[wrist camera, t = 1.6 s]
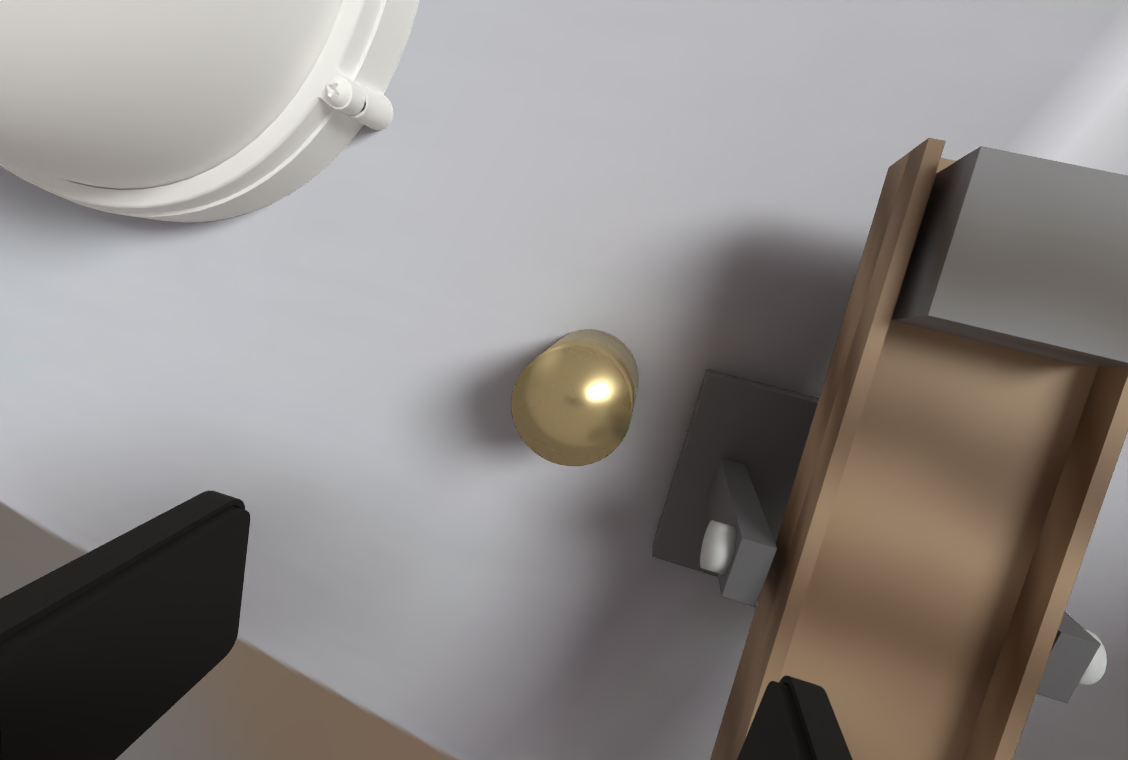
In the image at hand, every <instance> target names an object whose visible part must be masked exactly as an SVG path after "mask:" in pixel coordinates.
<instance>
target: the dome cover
mask: <svg viewBox="0 0 1128 760" xmlns="http://www.w3.org/2000/svg"><path fill="white" fill-rule="evenodd" d="M418 5H419V0H0V166H1V167H3V168H5V169H6V170H8V171H10V172H11V173H13V174H14V175H16V176H18V177H19V178H21V179H23V180H25V181H27V182H29V183H31V184H33V185H35V186H37V187H39V188H41V189H44V190H46V191H48V192H51V193H53V194H55V195H57V196H59V197H61V198H64V199H67V200H69V201H72V202H74V203H77V204H79V205H82V206H86V207H89V208H93V209H96V210H100V211H104V212H109V213H115V214H121V215H127V216H134V217H140V218H147V219H153V220H160V221H171V222H208V221H215V220H222V219H228V218H232V217H236V216H240V215H244V214H247V213H250V212H253V211H255V210H258V209H261V208H263V207H266V206H268V205H270V204H272V203H274V202H276V201H278V200H280V199H282V198H284V197H286V196H288V195H290V194H291V193H293V192H294V191H296V190H297V189H299V188H300V187H302V186H303V185H305V184H306V183H308V182H309V181H310V180H312V179H313V178H314V177H315V176H317V175H318V174H319V173H320V172H321V171H322V170H324V169H325V168H326V167H327V166H328V165H330V164H331V163H332V161H333V160H334V159H335V158H336V157H337V156H338V155H339V154H340V153H341V152H342V151H343V150H344V149H345V148H346V147H347V146H348V145H349V144H350V142H351V141H352V140H353V138H354V137H355V136H356V135H357V133H358V132H359V131H360V130H361V128H362V127H363V126H364V125H366V126H368V127H370V128H371V129H373V130H382V129H385V128H386V127H387V126H388V125H389V124H390V123H391V121H392V118H393V108H392V105H391V102H390V101H389V100H388V99H387V97H386V96H384V95H383V94H384V93H385V91H386V89H387V87H388V85H389V83H390V81H391V79H392V77H393V75H394V73H395V71H396V68H397V66H398V64H399V61H400V59H401V56H402V54H403V51H404V49H405V46H406V44H407V41H408V38H409V35H410V32H411V29H412V25H413V22H414V19H415V15H416V12H417V9H418Z"/></svg>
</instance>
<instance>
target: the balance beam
mask: <svg viewBox="0 0 1128 760" xmlns="http://www.w3.org/2000/svg"><path fill="white" fill-rule="evenodd" d="M945 142H946V141H942V140H937V139H932V138H928V139H927V140H925V141H924V142H923V143H921V144H920V145H919V146H917V147H916V148H914V149H913V150H912V151H910V152H909V153H908V154H906V155H905V156H904V157H902V158H901V159H900V160H898V161H897V162H896V163H894V164H893V165H892V166H890V167H889V168H888V172H887V175H886V178H885V182H884V185H883V188H882V192H881V195H880V198H879V202H878V205H877V208H876V212H875V215H874V218H873V222H872V225H871V228H870V232H869V235H868V238H867V241H866V245H865V248H864V251H863V255H862V258H861V261H860V265H859V268H858V271H857V275H856V278H855V281H854V285H853V288H852V291H851V295H850V298H849V301H848V305H847V308H846V311H845V314H844V318H843V321H842V324H841V328H840V331H839V334H838V338H837V341H836V344H835V348H834V351H833V354H832V358H831V361H830V364H829V368H828V371H827V374H826V378H825V381H824V384H823V388H822V391H821V394H820V397H819V401H818V404H817V407H816V411H815V414H814V417H813V421H812V424H811V427H810V431H809V434H808V437H807V441H806V444H805V447H804V451H803V454H802V457H801V461H800V464H799V467H798V470H797V474H796V477H795V480H794V484H793V487H792V490H791V494H790V497H789V500H788V504H787V507H786V510H785V514H784V517H783V520H782V524H781V527H780V530H779V534H778V537H777V540H776V543H775V544H776V547H777V550H776V553H775V555H774V558H773V561H772V563H771V566H770V569H769V571H768V574H767V577H766V579H765V582H764V585H763V587H762V590H761V593H760V597H759V600H758V603H757V607H756V610H755V613H754V617H753V620H752V623H751V626H750V630H749V633H748V636H747V640H746V643H745V646H744V650H743V653H742V656H741V660H740V663H739V666H738V670H737V673H736V676H735V680H734V683H733V686H732V690H731V693H730V696H729V699H728V703H727V706H726V709H725V713H724V716H723V719H722V723H721V726H720V729H719V733H718V736H717V739H716V743H715V746H714V749H713V753H712V756H711V759H710V760H737V758H738V755H739V753H740V751H741V748H742V746H743V743H744V741H745V738H746V736H747V734H748V731H749V729H750V726H751V724H752V721H753V719H754V717H755V714H756V712H757V709H758V707H759V704H760V702H761V700H762V697H763V695H764V692H765V690H766V688H767V686H768V684H769V683H770V682H771V681H775V682H778V683H779V682H780V680H781V678H783V677H784V676H787V675H788V676H791V677H794V678H797V679H800V680H803V681H806V682H810V683H813V684H816V685H819V686H821V687H822V688H824V690H825V691H826V693H827V696H828V698H829V701H830V703H831V706H832V708H833V711H834V713H835V716H836V719H837V721H838V724H839V726H840V729H841V731H842V734H843V736H844V739H845V742H846V744H847V747H848V749H849V752H850V754H851V757H852V759H853V760H1012V759H1013V757H1014V754H1015V751H1016V748H1017V745H1018V742H1019V739H1020V737H1021V734H1022V731H1023V728H1024V725H1025V722H1026V720H1027V717H1028V714H1029V711H1030V708H1031V705H1032V702H1033V700H1034V697H1035V694H1036V691H1037V688H1038V685H1039V682H1040V680H1041V677H1042V674H1043V671H1044V668H1045V665H1046V663H1047V660H1048V657H1049V654H1050V651H1051V648H1052V645H1053V643H1054V640H1055V637H1056V634H1057V631H1058V628H1059V626H1060V623H1061V620H1062V617H1063V614H1064V611H1065V608H1066V606H1067V603H1068V600H1069V597H1070V594H1071V591H1072V588H1073V586H1074V583H1075V580H1076V577H1077V574H1078V571H1079V569H1080V566H1081V563H1082V560H1083V557H1084V554H1085V551H1086V549H1087V546H1088V543H1089V540H1090V537H1091V534H1092V532H1093V529H1094V526H1095V523H1096V520H1097V517H1098V514H1099V512H1100V509H1101V506H1102V503H1103V500H1104V497H1105V494H1106V492H1107V489H1108V486H1109V483H1110V480H1111V477H1112V475H1113V472H1114V469H1115V466H1116V463H1117V460H1118V457H1119V455H1120V452H1121V449H1122V446H1123V443H1124V440H1125V438H1126V435H1127V432H1128V176H1126V175H1121V174H1116V173H1111V172H1106V171H1101V170H1097V169H1092V168H1087V167H1082V166H1077V165H1072V164H1067V163H1062V162H1057V161H1052V160H1047V159H1042V158H1037V157H1032V156H1027V155H1022V154H1017V153H1012V152H1007V151H1002V150H997V149H992V148H987V147H982V146H981V147H979V148H978V149H976V150H974V151H973V152H971V153H969V154H968V155H966V156H964V157H963V158H961V159H959V160H958V161H953V160H949V159H944V158H941V155H942V151H943V148H944V145H945Z"/></svg>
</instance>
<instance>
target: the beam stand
mask: <svg viewBox="0 0 1128 760" xmlns="http://www.w3.org/2000/svg"><path fill="white" fill-rule="evenodd" d="M818 401H819V399H818V398H814V397H810V396H806V395H803V394H799V393H795V392H791V391H787V390H783V389H780V388H776V387H772V386H768V385H764V384H760V383H757V382H753V381H749V380H745V379H741V378H737V377H733V376H730V375H726V374H722V373H718V372H714V371H710V370H706V373H705V377H704V380H703V383H702V387H701V390H700V393H699V396H698V400H697V403H696V406H695V409H694V413H693V416H692V419H691V422H690V426H689V429H688V432H687V435H686V439H685V442H684V445H683V449H682V452H681V455H680V458H679V462H678V465H677V468H676V471H675V475H674V478H673V481H672V484H671V488H670V491H669V494H668V498H667V501H666V504H665V507H664V511H663V514H662V517H661V520H660V524H659V527H658V530H657V533H656V537H655V540H654V543H653V556H652V557H655V558H659V559H662V560H665V561H668V562H672V563H675V564H678V565H681V566H685V567H688V568H691V569H695V570H698V571H701V572H704V573H708V574H711V575H714V576H718V577H719V582H720V589H721V595H722V597H725V598H728V599H732V600H735V601H738V602H741V603H745V604H748V605H751V606H754V607H755V606H756V604H757V601H758V598H759V596H760V593H761V590H762V587H763V585H764V582H765V579H766V577H767V574H768V571H769V569H770V566H771V563H772V561H773V558H774V555H775V553H776V550H777V547H776V544H775V543H776V540H777V537H778V534H779V530H780V527H781V524H782V520H783V517H784V514H785V510H786V507H787V504H788V500H789V497H790V494H791V490H792V487H793V484H794V480H795V477H796V474H797V470H798V467H799V464H800V461H801V457H802V454H803V451H804V447H805V444H806V441H807V437H808V434H809V431H810V427H811V424H812V421H813V417H814V414H815V411H816V407H817V404H818ZM1106 665H1107V657H1106V652H1105V649H1104V646H1103V644H1102V642H1101V641H1100V639H1099V638H1098V637H1097V636H1096V635H1095V634H1094V633H1092V632H1090V631H1088V630H1085V629H1084V628H1083V627H1081V626H1080V625H1079V624H1078V623H1077V622H1076V621H1075V620H1074V619H1072V618H1071V617H1070V616H1069V615H1068V614H1067V613H1066V612H1065V611H1064V614H1063V617H1062V620H1061V623H1060V626H1059V628H1058V631H1057V634H1056V637H1055V640H1054V643H1053V645H1052V648H1051V651H1050V654H1049V657H1048V660H1047V663H1046V665H1045V668H1044V671H1043V674H1042V677H1041V680H1040V682H1039V685H1038V688H1037V691H1036V694H1039V695H1043V696H1046V697H1049V698H1052V699H1056V700H1059V701H1062V702H1065V703H1068V701H1069V699H1070V697H1071V696H1072V694H1073V692H1074V690H1075V689H1076V687H1077V685H1078V683H1081V684H1085V685H1090V684H1094V683H1096V682H1097V681H1099V680H1100V679H1101V678H1102V676H1103V674H1104V672H1105V670H1106Z"/></svg>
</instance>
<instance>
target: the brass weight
mask: <svg viewBox="0 0 1128 760" xmlns="http://www.w3.org/2000/svg"><path fill="white" fill-rule="evenodd" d="M637 387H638V369H637V365H636V362H635V360H634V357H633V355H632V354H631V352H630V350H629V349H628V348H627V347H626V346H625V345H624V344H623V343H622V342H621V341H620V340H619V339H617V338H616V337H614V336H612V335H611V334H608V333H606V332H603V331H599V330H592V329H587V330H579V331H575V332H572V333H570V334H567V335H566V336H564V337H562V338H561V339H560V340H558V341H557V342H556V343H554V344H553V345H552V346H551V347H549V348H548V349H547V350H546V351H544V352H543V353H542V354H540V355H539V356H538V357H537V358H535V359H534V360H533V361H532V362H530V363H529V364H528V365H527V366H526V367H525V368H524V370H523V371H522V372H521V374H520V375H519V377H518V379H517V381H516V383H515V386H514V389H513V393H512V400H511V409H512V416H513V421H514V424H515V427H516V429H517V431H518V433H519V435H520V436H521V438H522V439H523V441H524V442H525V443H526V444H527V446H528V447H529V448H531V449H532V450H533V451H534V452H535V453H536V454H538V455H539V456H541V457H543V458H544V459H546V460H548V461H551V462H553V463H557V464H560V465H566V466H582V465H588V464H592V463H594V462H597V461H599V460H601V459H603V458H605V457H606V456H608V455H609V454H611V453H612V452H613V451H614V450H615V449H616V448H617V447H618V446H619V444H620V443H621V442H622V440H623V438H624V437H625V435H626V433H627V430H628V428H629V424H630V420H631V415H632V411H633V406H634V401H635V397H636V392H637Z"/></svg>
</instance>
